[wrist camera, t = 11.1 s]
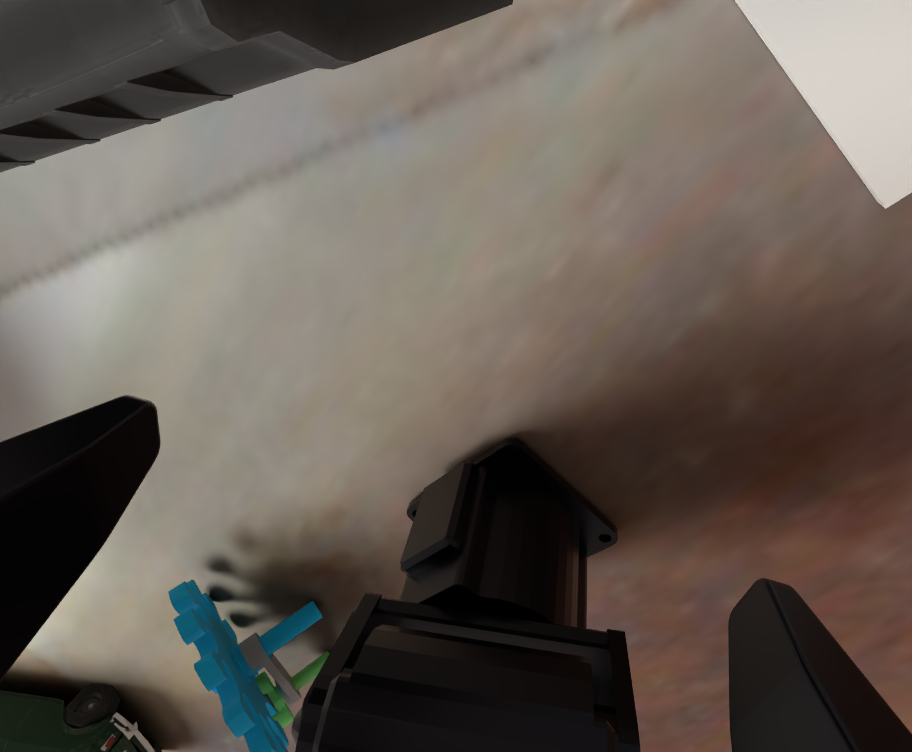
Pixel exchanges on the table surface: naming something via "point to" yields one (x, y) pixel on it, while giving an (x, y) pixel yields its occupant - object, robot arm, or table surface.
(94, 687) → the miniature car
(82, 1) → the magazine
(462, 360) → the table surface
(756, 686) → the robot arm
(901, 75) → the cream rectangular board
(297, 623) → the gear
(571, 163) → the table surface
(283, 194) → the table surface
